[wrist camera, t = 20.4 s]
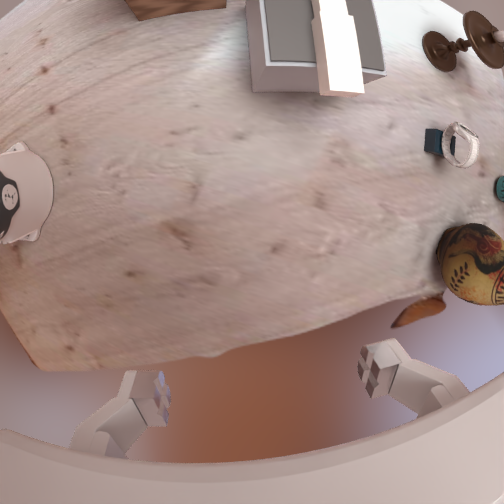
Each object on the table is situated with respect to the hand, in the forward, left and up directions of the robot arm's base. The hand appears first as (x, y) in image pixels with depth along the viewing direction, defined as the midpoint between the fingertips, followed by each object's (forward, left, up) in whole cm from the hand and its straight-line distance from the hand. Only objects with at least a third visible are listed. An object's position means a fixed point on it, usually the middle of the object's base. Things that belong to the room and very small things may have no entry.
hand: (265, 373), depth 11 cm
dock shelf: (+11, +25, -35) cm, 44 cm away
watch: (+38, +10, -35) cm, 53 cm away
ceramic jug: (+46, -12, -35) cm, 59 cm away
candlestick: (+42, +30, -35) cm, 63 cm away
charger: (+11, +22, -20) cm, 32 cm away
